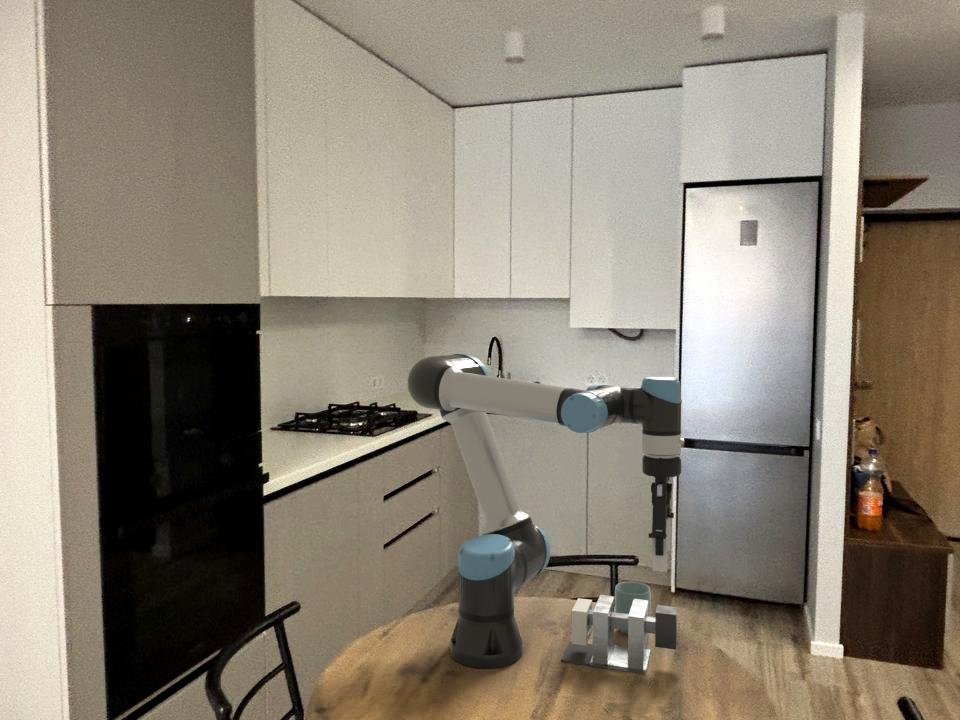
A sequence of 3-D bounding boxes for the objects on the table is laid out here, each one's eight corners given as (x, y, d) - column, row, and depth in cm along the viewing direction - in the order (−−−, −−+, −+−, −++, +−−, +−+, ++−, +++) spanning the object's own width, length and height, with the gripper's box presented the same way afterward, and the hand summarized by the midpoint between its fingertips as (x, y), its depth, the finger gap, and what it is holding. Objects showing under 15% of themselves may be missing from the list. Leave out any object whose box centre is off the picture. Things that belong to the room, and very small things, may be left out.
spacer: (571, 643, 149) (571, 610, 149) (577, 629, 156) (578, 598, 155) (586, 645, 148) (586, 612, 148) (592, 631, 155) (592, 599, 154)
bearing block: (590, 665, 147) (590, 611, 146) (597, 646, 156) (597, 594, 155) (645, 674, 143) (646, 618, 143) (650, 653, 152) (650, 600, 152)
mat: (560, 661, 149) (560, 659, 149) (569, 642, 157) (569, 641, 157) (590, 665, 147) (590, 664, 147) (597, 646, 156) (597, 645, 156)
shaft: (570, 635, 151) (570, 602, 150) (574, 627, 154) (574, 595, 154) (676, 649, 144) (676, 614, 144) (677, 641, 148) (677, 607, 147)
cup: (650, 640, 158) (651, 595, 158) (614, 637, 160) (614, 592, 159) (649, 625, 166) (650, 582, 165) (615, 623, 168) (615, 580, 167)
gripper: (678, 467, 132) (678, 582, 133) (683, 445, 156) (683, 543, 157) (636, 465, 135) (636, 579, 136) (647, 443, 158) (647, 540, 160)
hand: (661, 560), depth 147 cm, fingers open, 13 cm apart
